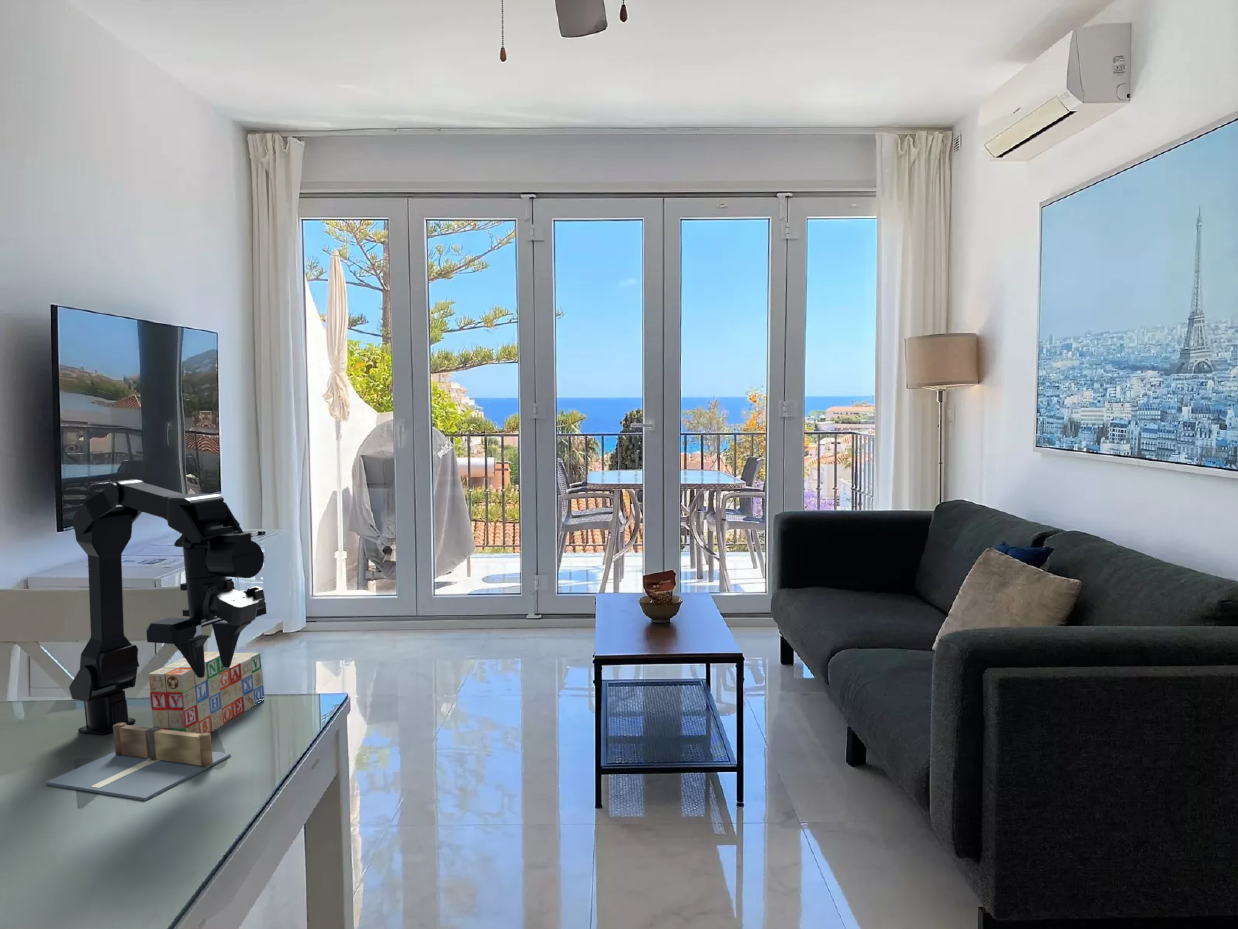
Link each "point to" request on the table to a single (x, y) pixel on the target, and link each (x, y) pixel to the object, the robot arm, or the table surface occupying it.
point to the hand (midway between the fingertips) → (214, 672)
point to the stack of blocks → (205, 692)
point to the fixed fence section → (131, 740)
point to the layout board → (130, 775)
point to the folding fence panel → (180, 746)
